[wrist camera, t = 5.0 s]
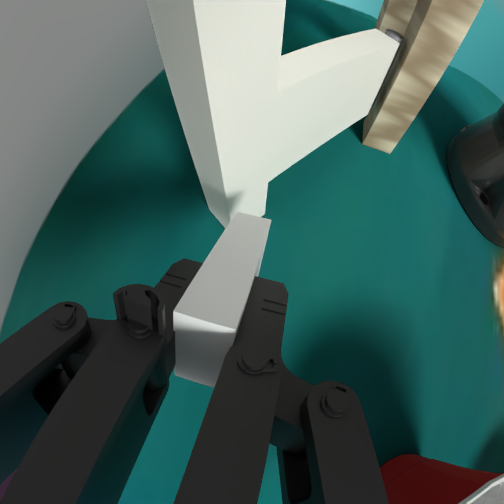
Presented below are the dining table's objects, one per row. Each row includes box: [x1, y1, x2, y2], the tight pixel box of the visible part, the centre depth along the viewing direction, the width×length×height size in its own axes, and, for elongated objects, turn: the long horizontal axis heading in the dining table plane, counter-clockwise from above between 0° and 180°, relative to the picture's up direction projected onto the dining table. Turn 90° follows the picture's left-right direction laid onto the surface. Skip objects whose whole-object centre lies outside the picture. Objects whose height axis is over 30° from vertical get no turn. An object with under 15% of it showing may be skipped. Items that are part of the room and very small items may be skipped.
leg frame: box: [146, 0, 404, 228], centre depth 13 cm, size 17×3×19 cm, turn 130°
